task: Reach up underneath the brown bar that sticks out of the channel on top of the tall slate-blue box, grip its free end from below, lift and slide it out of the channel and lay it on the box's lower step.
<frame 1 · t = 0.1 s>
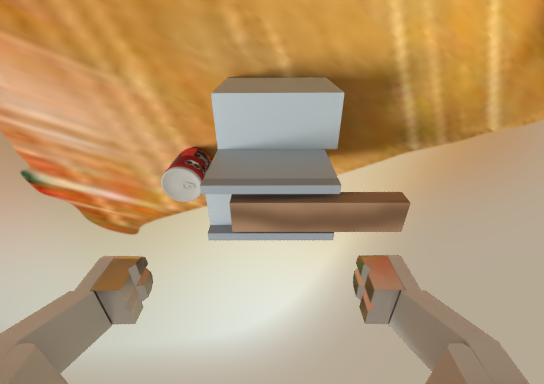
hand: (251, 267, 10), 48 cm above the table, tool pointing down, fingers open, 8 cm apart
canned food: (196, 162, 61), on the table
step box: (269, 121, 55), on the table
brown bar: (315, 206, 35), point 26 cm above the table, touching step box
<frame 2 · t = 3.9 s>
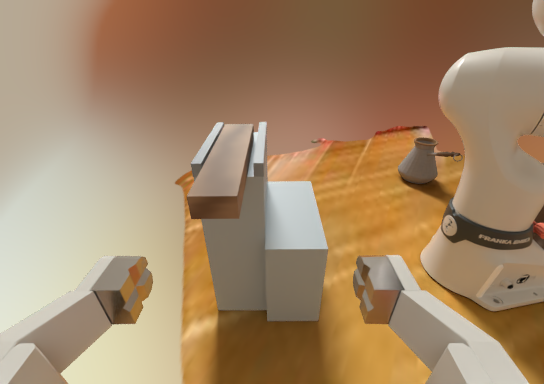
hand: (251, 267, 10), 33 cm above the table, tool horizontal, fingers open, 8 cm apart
coffee pot: (421, 186, 82), on the table
step box: (268, 270, 53), on the table
brown bar: (231, 167, 34), point 26 cm above the table, touching step box
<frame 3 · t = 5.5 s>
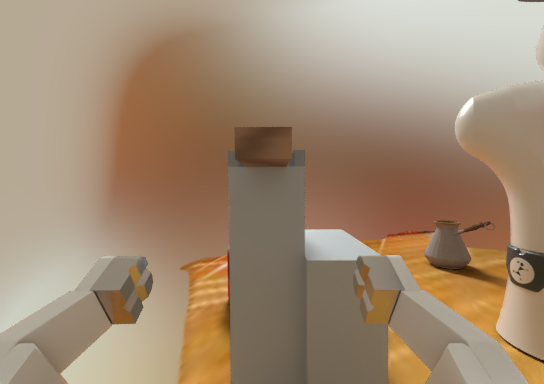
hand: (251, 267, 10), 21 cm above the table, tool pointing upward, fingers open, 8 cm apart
coffee pot: (458, 271, 73), on the table
step box: (298, 346, 39), on the table
brown bar: (267, 168, 32), point 26 cm above the table, touching step box
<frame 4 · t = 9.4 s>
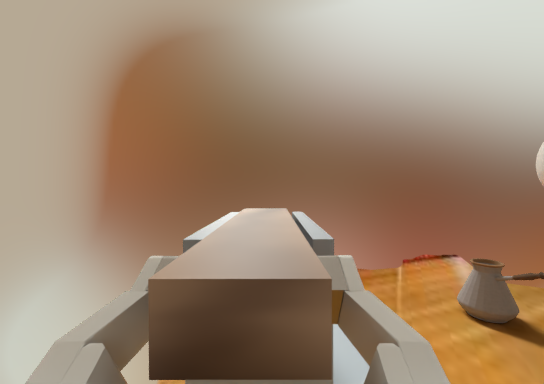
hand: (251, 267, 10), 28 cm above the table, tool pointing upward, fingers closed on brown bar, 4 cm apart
coffee pot: (504, 326, 58), on the table
brown bar: (260, 258, 17), point 26 cm above the table, touching gripper, step box
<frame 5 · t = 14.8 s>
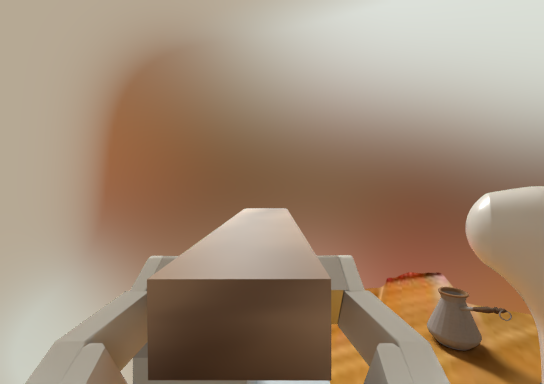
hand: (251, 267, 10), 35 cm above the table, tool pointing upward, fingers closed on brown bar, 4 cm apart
coffee pot: (467, 354, 62), on the table
brown bar: (261, 258, 17), point 34 cm above the table, touching gripper
when the fingers open (19 cm above the table, at t = 20.1 s): brown bar drops 2 cm, resting on step box.
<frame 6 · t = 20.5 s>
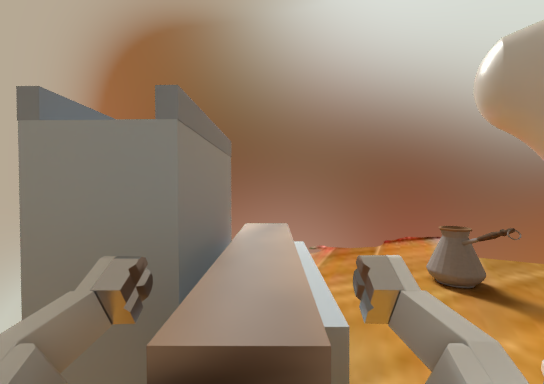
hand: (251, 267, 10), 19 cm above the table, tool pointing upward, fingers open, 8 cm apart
coffee pot: (470, 291, 57), on the table
brown bar: (261, 283, 17), point 16 cm above the table, touching step box
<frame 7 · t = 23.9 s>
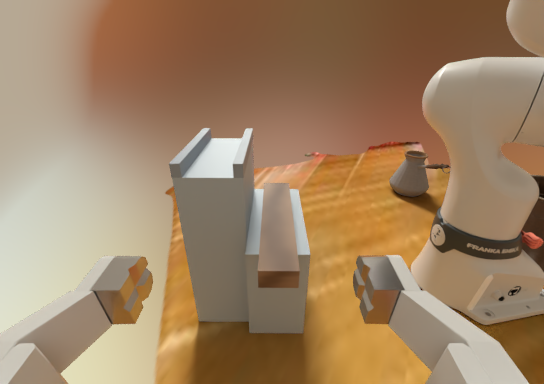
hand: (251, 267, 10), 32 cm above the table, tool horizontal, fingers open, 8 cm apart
plant pot: (527, 255, 58), on the table
coffee pot: (413, 199, 82), on the table
step box: (253, 280, 51), on the table
brown bar: (277, 230, 39), point 16 cm above the table, touching step box
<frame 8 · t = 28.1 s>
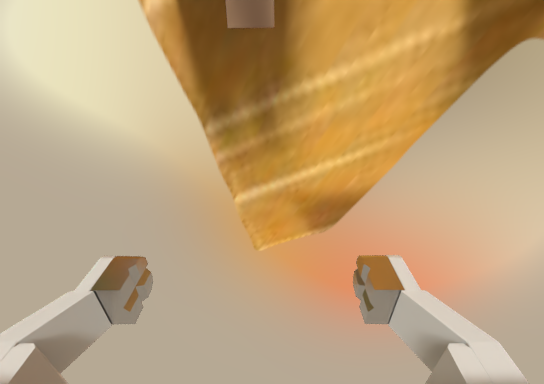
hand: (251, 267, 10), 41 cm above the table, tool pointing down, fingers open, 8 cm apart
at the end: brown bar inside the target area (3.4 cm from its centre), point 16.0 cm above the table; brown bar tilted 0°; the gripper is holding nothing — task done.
